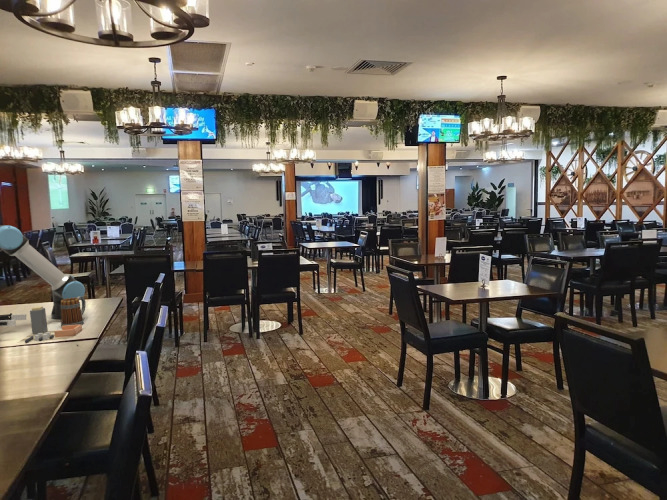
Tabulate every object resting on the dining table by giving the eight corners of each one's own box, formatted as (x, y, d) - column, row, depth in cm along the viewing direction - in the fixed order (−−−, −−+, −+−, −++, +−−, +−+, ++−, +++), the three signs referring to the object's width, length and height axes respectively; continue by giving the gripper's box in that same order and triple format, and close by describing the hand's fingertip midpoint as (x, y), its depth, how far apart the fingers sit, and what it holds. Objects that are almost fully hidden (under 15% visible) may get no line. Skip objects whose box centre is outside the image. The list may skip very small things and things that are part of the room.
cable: (31, 338, 233) (31, 335, 232) (55, 336, 234) (55, 333, 234) (24, 343, 225) (24, 340, 225) (49, 341, 227) (48, 338, 227)
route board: (34, 334, 245) (34, 331, 244) (85, 330, 248) (84, 327, 248) (17, 345, 227) (17, 342, 227) (72, 340, 231) (72, 338, 231)
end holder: (63, 331, 243) (62, 325, 243) (82, 330, 244) (81, 324, 244) (55, 337, 233) (54, 331, 233) (75, 335, 235) (74, 329, 234)
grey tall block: (37, 331, 244) (34, 306, 243) (47, 331, 245) (44, 305, 243) (32, 334, 239) (29, 309, 238) (43, 333, 240) (40, 308, 239)
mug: (74, 330, 249) (71, 301, 247) (56, 329, 251) (53, 301, 250) (94, 322, 264) (92, 295, 263) (78, 321, 267) (75, 295, 265)
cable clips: (38, 338, 233) (38, 333, 232) (51, 337, 233) (50, 332, 233) (34, 340, 228) (34, 335, 228) (47, 339, 229) (46, 334, 229)
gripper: (-17, 323, 247) (30, 321, 252) (-42, 335, 223) (10, 333, 228) (-17, 309, 246) (29, 307, 252) (-42, 319, 222) (10, 317, 227)
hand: (20, 319), depth 240 cm, fingers open, 13 cm apart
